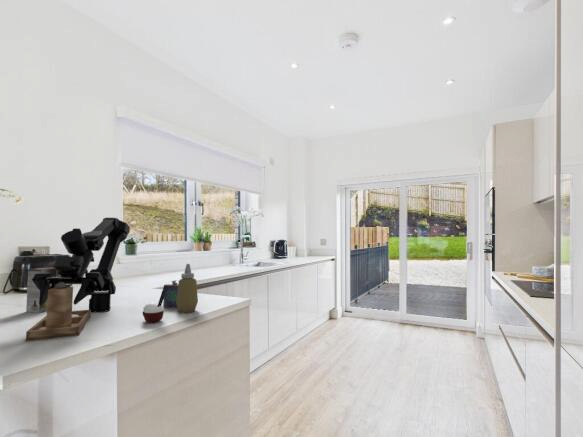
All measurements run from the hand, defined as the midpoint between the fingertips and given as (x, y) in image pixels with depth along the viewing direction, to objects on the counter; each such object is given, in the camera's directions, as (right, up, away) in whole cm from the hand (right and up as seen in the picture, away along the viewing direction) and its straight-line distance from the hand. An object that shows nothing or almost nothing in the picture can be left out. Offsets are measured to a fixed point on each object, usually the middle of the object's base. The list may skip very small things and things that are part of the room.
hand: (57, 304), depth 92 cm
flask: (+21, -11, +34) cm, 42 cm away
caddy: (-2, -9, +5) cm, 10 cm away
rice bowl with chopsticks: (+23, -9, +12) cm, 28 cm away
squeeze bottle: (+29, -10, +27) cm, 41 cm away
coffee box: (-27, -10, +29) cm, 41 cm away
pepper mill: (0, -8, +1) cm, 8 cm away
